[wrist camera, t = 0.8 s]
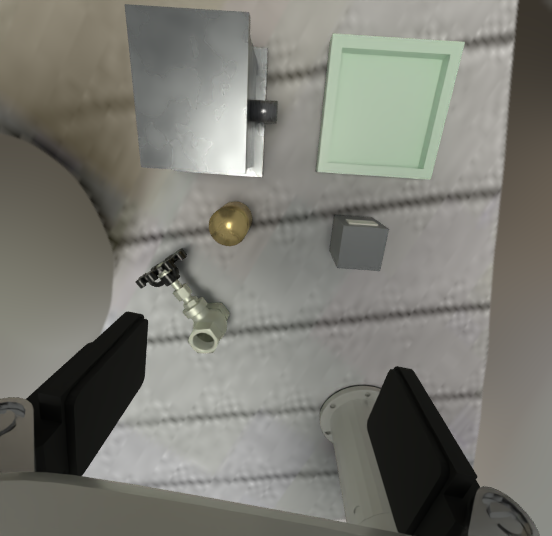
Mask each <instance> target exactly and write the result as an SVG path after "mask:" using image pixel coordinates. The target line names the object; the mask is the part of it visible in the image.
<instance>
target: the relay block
mask: <svg viewBox="0 0 552 536" xmlns="http://www.w3.org/2000/svg"><path fill="white" fill-rule="evenodd" d="M388 231H389V229H388V228H387V227H385V226H384V225H382V224H381V223H380V222H378V221H377V220H375V219H374V218H372V217H359V216H345V215H334V221H333V228H332V235H331V242H330V250H329V251H330V253H331V255H332V258H333V260H334V262H335V264H336V266H337V268H345V269H359V270H373V271H380V269H381V264H382V260H383V255H384V250H385V245H386V241H387V236H388Z"/></svg>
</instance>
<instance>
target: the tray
mask: <svg viewBox="0 0 552 536" xmlns="http://www.w3.org/2000/svg"><path fill="white" fill-rule="evenodd" d="M464 43H465V42H456V41H441V40H425V39H410V38H394V37H379V36H363V35H348V34H333V35H332V37H331V40H330V45H329V54H328V63H327V72H326V82H325V91H324V100H323V109H322V119H321V128H320V137H319V146H318V156H317V165H316V171H317V172H326V173H340V174H355V175H369V176H384V177H399V178H413V179H428V180H431V176H432V172H433V168H434V164H435V160H436V156H437V152H438V148H439V144H440V140H441V136H442V132H443V128H444V124H445V120H446V116H447V112H448V108H449V104H450V100H451V96H452V92H453V88H454V84H455V80H456V76H457V72H458V68H459V64H460V60H461V56H462V51H463V47H464Z"/></svg>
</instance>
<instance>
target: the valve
mask: <svg viewBox="0 0 552 536" xmlns="http://www.w3.org/2000/svg"><path fill="white" fill-rule="evenodd" d="M186 255H187V254H186V253H185V252H184V250H183V249H180V250H178V251H177V252H176V253H175V254H174V255H170V256H169V257H167V258H166V259H165V261H163V262H162V263H160V264H157V265H156V266H154V267H153V268H151V271H149V272H148V273H145V274H144V275H142V276H141V277H139V279H138V280H137V281H136V283H137V285H138V286H139V287H140V288H143V287H145V286H146V283H147V282H149V284H150V285H152V286H154V287H160V286H162V285H164V284H165V285H166V286H169V285H171V286H172V287H173V288H174V289H175V291H174V292H173V294H174V296H175V297H176V298H177V299H178V300H179V301H182V300H183V301H184V305H183V306H184V308H185V309H184V310H183V313H184V315H185V316H186V317H187V318H188V319H190V318H191V319H192V320H193V321H194V324H193V331H192V333H191V335H190V337H189V339H188V343H189V344H190V346H191V347H192V348H193V349H194V350H195V351H196V352H197V353H213V352H214V351H215V349H216V347H217V345H218V343H219V341H220V339H222V337H223V336H224V335H225V333H226V330H227V319H228V317H229V314H230V313H229V311H228V310H227V309H226V308H225V306H224V305H223V304H222V303H208V304H207V302H206V301H205V300H204V298H203V297H200V298H197V297H196V296H193V297H192V296H191V293H192V290H191V289H190V288H189V287H188V286H187V284H183V285H182V284H181V283H180V282H179V281H178V279H179V278H180V275H179V270H178V268H177V267H176V265H175V264H174V263H175V262H176V261H177V260H178V259H180V260H181V261H182V260H183V259H185V258H186V257H187V256H186ZM157 275H158V276H159V277H158V276H157ZM158 278H160V279H161V281H160V282H154V281H155V280H157V279H158Z"/></svg>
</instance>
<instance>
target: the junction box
mask: <svg viewBox="0 0 552 536" xmlns="http://www.w3.org/2000/svg"><path fill="white" fill-rule="evenodd" d="M125 12H126V22H127V32H128V42H129V52H130V62H131V72H132V82H133V92H134V102H135V111H136V121H137V131H138V141H139V151H140V161H141V167H147V168H161V169H173V170H174V171H181V172H195V173H210V174H224V175H239V176H253V177H262V175H263V153H264V130H265V123H276V122H277V105H278V102H277V101H266V85H267V62H268V48H259V47H253V44H252V41H251V38H250V14H249V12H236V11H221V10H205V9H189V8H174V7H158V6H143V5H127V4H125Z"/></svg>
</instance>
